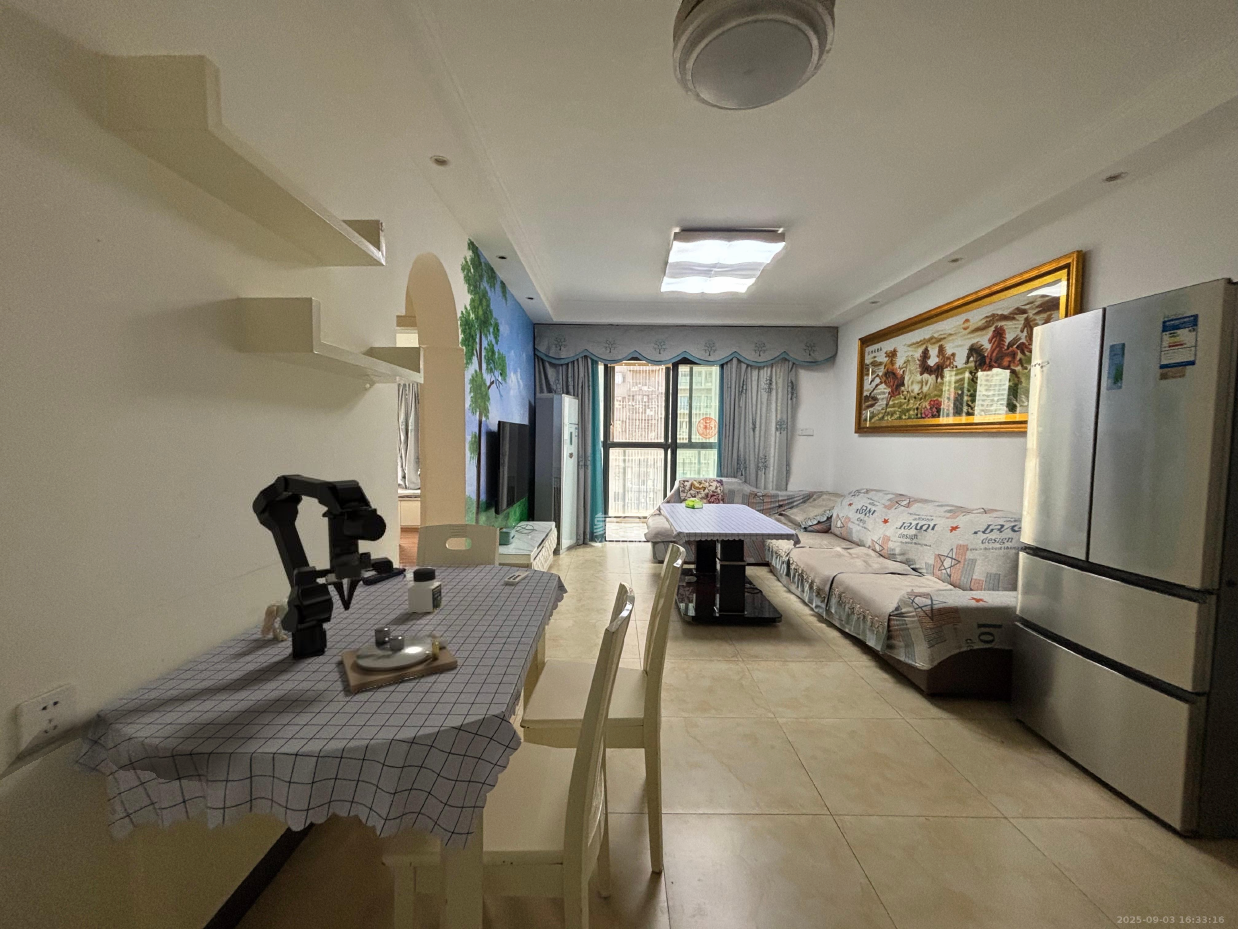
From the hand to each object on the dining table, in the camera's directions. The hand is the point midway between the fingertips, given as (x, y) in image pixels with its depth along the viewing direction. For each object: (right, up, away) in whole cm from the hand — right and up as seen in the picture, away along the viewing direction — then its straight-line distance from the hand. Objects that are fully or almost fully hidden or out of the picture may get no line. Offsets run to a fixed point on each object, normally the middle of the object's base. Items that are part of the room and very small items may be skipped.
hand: (346, 610), depth 114 cm
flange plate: (+12, -10, 0) cm, 16 cm away
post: (+11, -8, 0) cm, 14 cm away
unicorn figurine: (-28, -12, +21) cm, 37 cm away
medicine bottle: (+3, -11, +39) cm, 40 cm away
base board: (+11, -11, 0) cm, 16 cm away
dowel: (+20, -10, -2) cm, 22 cm away
